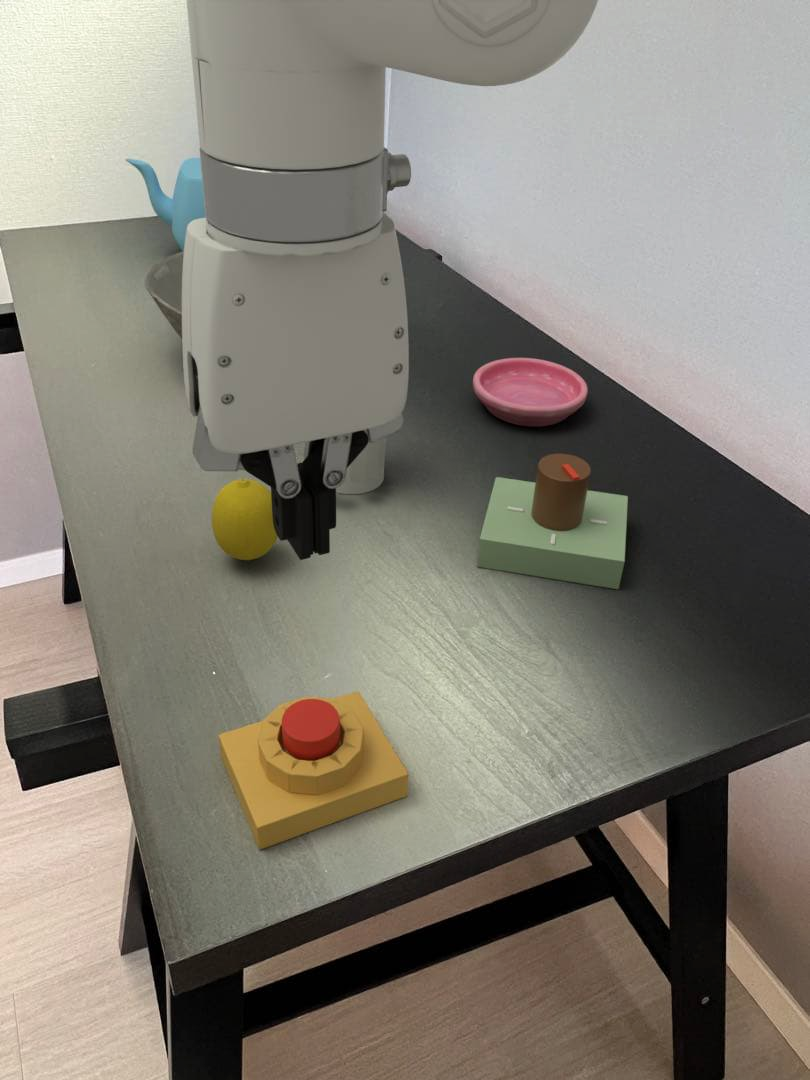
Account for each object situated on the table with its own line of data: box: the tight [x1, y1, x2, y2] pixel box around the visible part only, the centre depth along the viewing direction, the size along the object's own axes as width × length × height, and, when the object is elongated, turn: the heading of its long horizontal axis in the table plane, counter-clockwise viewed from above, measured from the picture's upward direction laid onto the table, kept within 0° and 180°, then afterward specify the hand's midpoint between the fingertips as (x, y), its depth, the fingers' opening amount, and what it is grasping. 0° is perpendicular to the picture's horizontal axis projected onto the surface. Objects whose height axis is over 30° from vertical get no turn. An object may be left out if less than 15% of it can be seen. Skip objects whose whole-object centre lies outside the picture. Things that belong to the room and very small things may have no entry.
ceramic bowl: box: [144, 250, 184, 340], centre depth 109 cm, size 22×23×10 cm
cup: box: [336, 436, 388, 495], centre depth 88 cm, size 8×8×12 cm
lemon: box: [211, 477, 278, 561], centre depth 78 cm, size 6×6×8 cm
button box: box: [217, 690, 409, 851], centre depth 61 cm, size 10×8×4 cm
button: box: [282, 699, 340, 760], centre depth 59 cm, size 4×4×2 cm
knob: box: [531, 453, 592, 530], centre depth 80 cm, size 4×4×5 cm
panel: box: [476, 476, 629, 590], centre depth 83 cm, size 12×10×3 cm
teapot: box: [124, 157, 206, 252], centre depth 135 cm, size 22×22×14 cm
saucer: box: [472, 357, 589, 427], centre depth 103 cm, size 12×12×3 cm
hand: (305, 541), depth 51 cm, fingers closed
